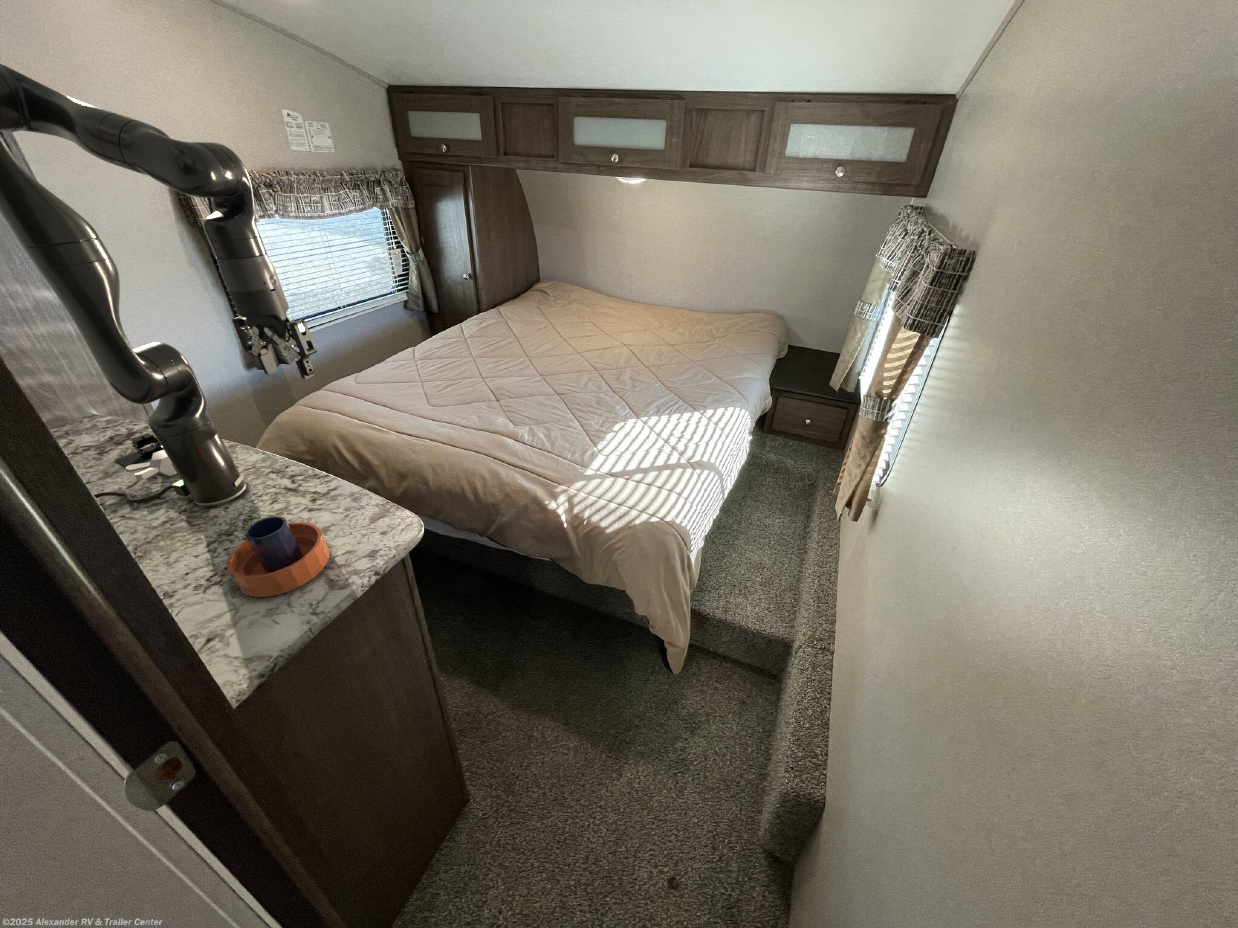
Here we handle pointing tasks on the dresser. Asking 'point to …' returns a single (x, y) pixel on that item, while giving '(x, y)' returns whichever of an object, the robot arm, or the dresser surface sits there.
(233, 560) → the bowl
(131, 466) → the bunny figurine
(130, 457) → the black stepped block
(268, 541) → the blue cup
